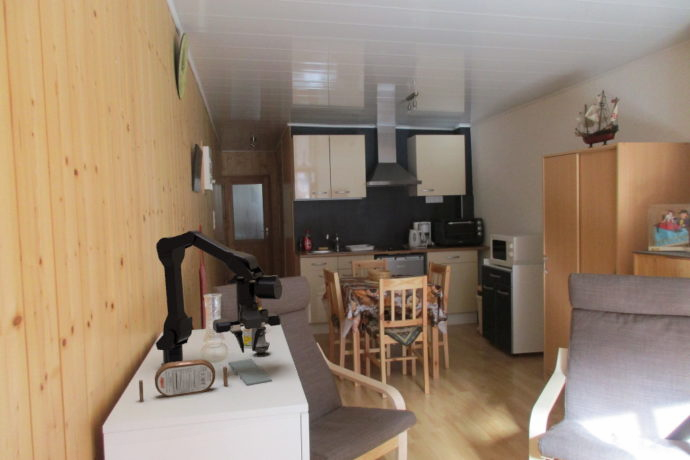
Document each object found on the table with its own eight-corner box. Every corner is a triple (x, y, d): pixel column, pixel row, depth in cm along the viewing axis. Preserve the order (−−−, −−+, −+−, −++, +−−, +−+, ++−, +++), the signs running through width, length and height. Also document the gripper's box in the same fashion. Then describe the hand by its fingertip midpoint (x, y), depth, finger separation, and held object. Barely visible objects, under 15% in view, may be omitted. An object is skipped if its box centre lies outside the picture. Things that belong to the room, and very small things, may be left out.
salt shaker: (257, 359, 156) (256, 321, 155) (248, 355, 160) (247, 318, 160) (273, 355, 160) (272, 318, 159) (264, 351, 164) (263, 315, 164)
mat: (228, 363, 151) (228, 362, 151) (250, 360, 154) (250, 358, 154) (246, 385, 132) (246, 383, 132) (272, 381, 135) (272, 379, 135)
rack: (139, 400, 123) (138, 380, 123) (226, 384, 133) (225, 366, 133) (140, 402, 122) (139, 382, 122) (227, 386, 132) (227, 367, 131)
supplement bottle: (251, 349, 167) (250, 321, 167) (240, 347, 170) (239, 319, 170) (262, 345, 171) (261, 318, 171) (251, 343, 175) (250, 316, 174)
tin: (215, 387, 131) (214, 356, 131) (216, 391, 128) (215, 359, 128) (155, 396, 126) (154, 363, 126) (154, 400, 123) (153, 367, 123)
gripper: (219, 306, 131) (221, 364, 131) (286, 299, 139) (287, 353, 140) (211, 300, 141) (213, 353, 141) (274, 293, 149) (275, 344, 150)
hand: (248, 351), depth 143 cm, fingers open, 3 cm apart
